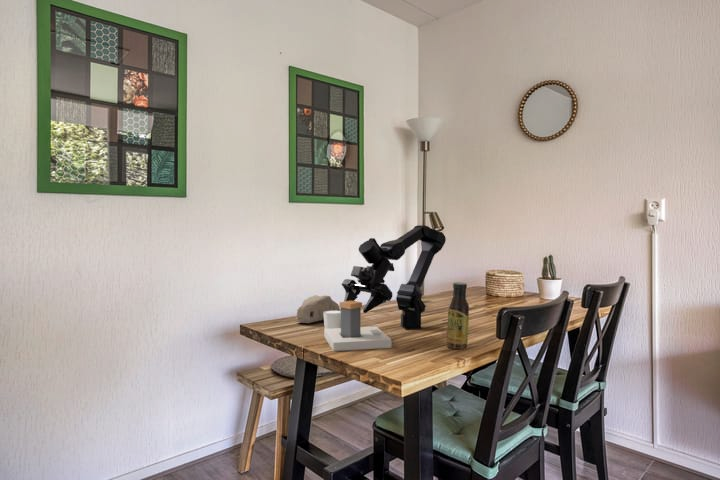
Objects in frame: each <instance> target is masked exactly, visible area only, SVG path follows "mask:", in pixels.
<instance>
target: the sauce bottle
mask: <svg viewBox="0 0 720 480" xmlns="http://www.w3.org/2000/svg"><path fill="white" fill-rule="evenodd" d="M452 284H453V285H452V287H453V293H452V299H451V301H450V305H449V308H448V310H447V328H446V329H447V332H446V342H447V343H446V344H447V346H448V348H450V349H454V350H455V349H456V350H464V349H467V346H468V340H469V339H468V337H469V322H470V321H469V319H470V314H469V313H470V311H469V310H470V309H469V308H470V305H469V303H468V301H467V287H468V283H465V282H460V281H459V282H453V283H452Z"/></svg>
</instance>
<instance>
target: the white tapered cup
mask: <svg viewBox="0 0 720 480" xmlns="http://www.w3.org/2000/svg"><path fill="white" fill-rule="evenodd" d="M323 314H324V320H323V323H324V329H333V328H341V310H340V311H337V310H330V311H325V312H323Z"/></svg>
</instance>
